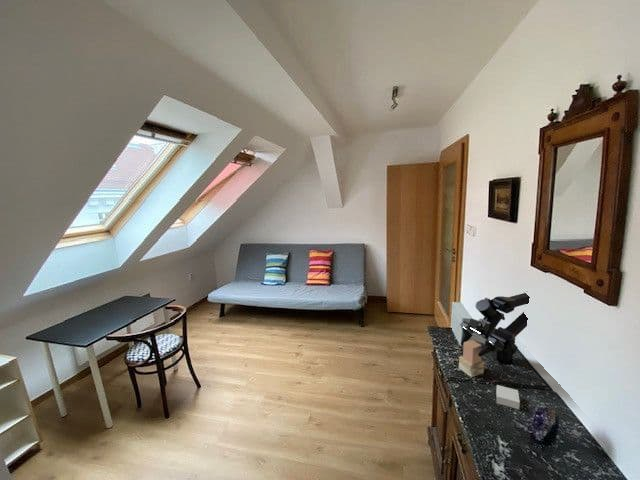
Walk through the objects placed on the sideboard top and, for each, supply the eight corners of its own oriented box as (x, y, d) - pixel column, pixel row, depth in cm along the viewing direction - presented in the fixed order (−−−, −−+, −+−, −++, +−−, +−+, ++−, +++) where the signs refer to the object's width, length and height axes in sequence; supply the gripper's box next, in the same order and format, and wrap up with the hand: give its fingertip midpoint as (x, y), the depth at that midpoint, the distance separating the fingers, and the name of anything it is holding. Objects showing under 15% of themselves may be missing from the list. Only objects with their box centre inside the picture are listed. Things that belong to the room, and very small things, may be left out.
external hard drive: (466, 340, 150) (473, 331, 159) (483, 346, 145) (490, 336, 153) (466, 338, 150) (474, 328, 159) (483, 343, 144) (490, 333, 153)
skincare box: (471, 347, 144) (473, 318, 141) (460, 346, 145) (461, 318, 142) (460, 327, 164) (461, 301, 161) (450, 326, 165) (451, 301, 162)
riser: (496, 391, 113) (496, 384, 112) (517, 397, 109) (517, 390, 109) (496, 403, 107) (497, 396, 107) (519, 409, 104) (519, 402, 103)
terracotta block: (471, 355, 128) (472, 339, 126) (481, 361, 123) (481, 345, 121) (463, 358, 126) (463, 342, 125) (472, 364, 121) (472, 348, 120)
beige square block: (472, 359, 130) (472, 353, 129) (484, 368, 123) (484, 362, 122) (459, 362, 128) (459, 356, 128) (470, 371, 122) (470, 365, 121)
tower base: (470, 364, 131) (470, 358, 130) (483, 373, 124) (483, 367, 124) (458, 368, 129) (458, 362, 128) (471, 377, 122) (471, 371, 122)
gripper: (463, 304, 131) (444, 331, 129) (500, 321, 113) (478, 353, 112) (475, 316, 135) (457, 343, 133) (513, 335, 117) (492, 365, 116)
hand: (469, 350), depth 124 cm, fingers open, 9 cm apart
